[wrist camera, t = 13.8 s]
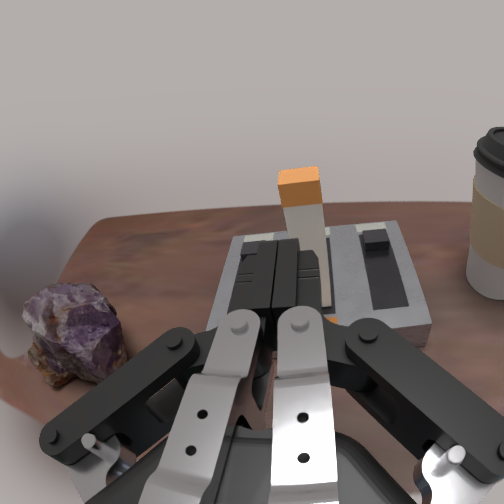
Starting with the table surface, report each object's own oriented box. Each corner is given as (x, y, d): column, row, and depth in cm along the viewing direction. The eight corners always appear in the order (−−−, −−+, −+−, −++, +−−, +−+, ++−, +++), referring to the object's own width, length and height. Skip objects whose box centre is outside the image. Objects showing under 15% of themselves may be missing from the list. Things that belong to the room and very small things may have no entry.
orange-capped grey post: (331, 287, 26) (317, 165, 20) (332, 306, 25) (319, 180, 18) (301, 290, 27) (279, 170, 20) (300, 308, 25) (277, 184, 19)
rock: (122, 413, 25) (154, 330, 33) (78, 367, 20) (128, 272, 27) (37, 382, 27) (73, 315, 35) (-8, 335, 21) (41, 263, 29)
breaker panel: (395, 242, 34) (396, 212, 31) (425, 345, 23) (434, 314, 20) (239, 257, 38) (231, 229, 35) (214, 358, 27) (199, 331, 25)
